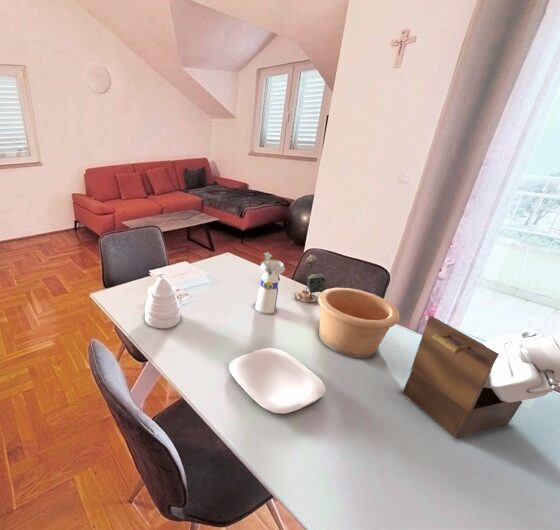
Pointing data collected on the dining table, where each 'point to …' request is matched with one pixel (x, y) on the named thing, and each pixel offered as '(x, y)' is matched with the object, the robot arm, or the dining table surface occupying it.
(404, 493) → the dining table surface
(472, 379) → the chest lid
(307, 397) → the plate
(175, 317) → the honey pot
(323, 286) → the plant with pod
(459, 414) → the chest
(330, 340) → the pottery
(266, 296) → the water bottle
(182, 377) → the dining table surface
